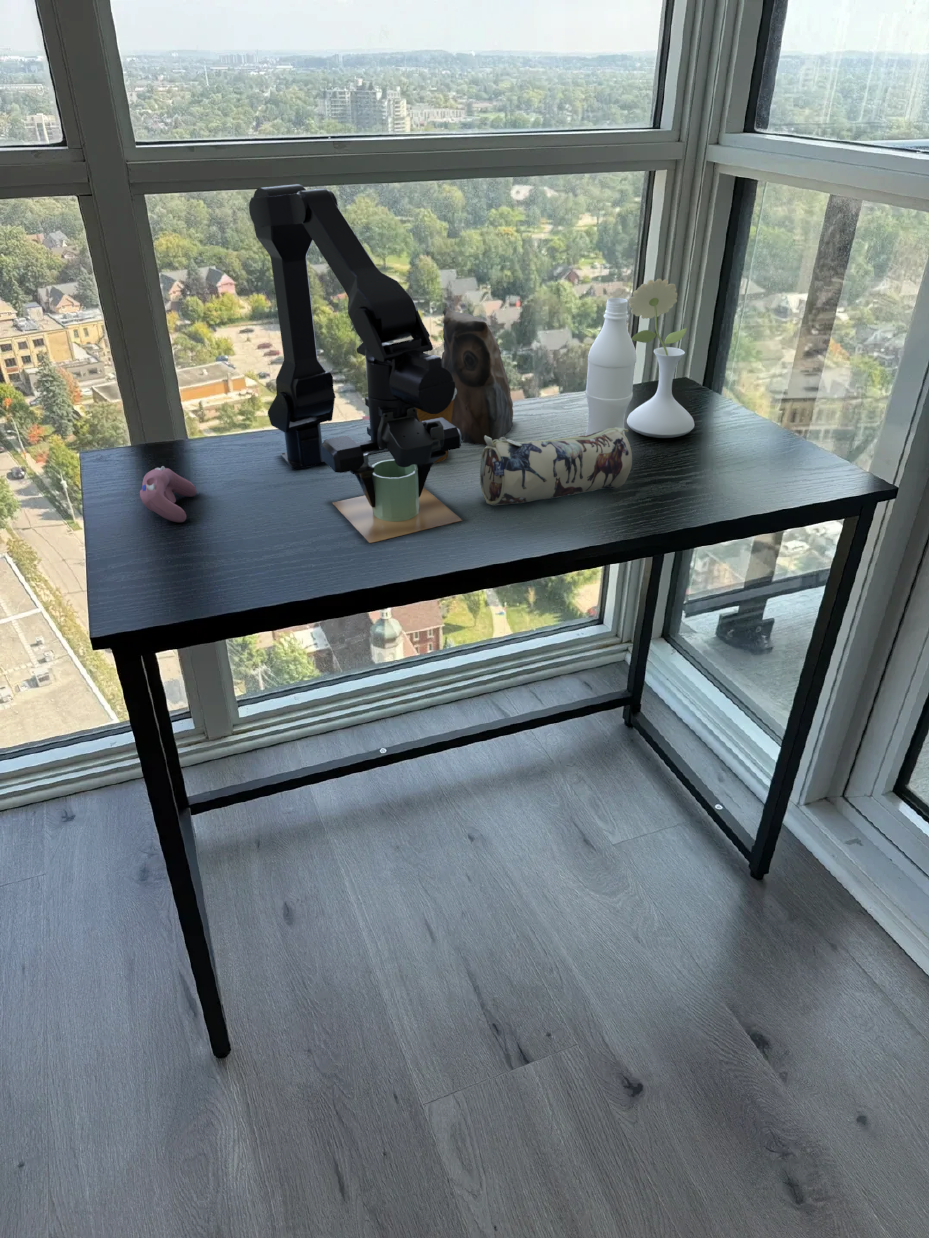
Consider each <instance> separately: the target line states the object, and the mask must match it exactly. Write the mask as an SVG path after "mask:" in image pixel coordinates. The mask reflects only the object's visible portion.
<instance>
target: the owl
mask: <svg viewBox="0 0 929 1238" xmlns="http://www.w3.org/2000/svg"><path fill="white" fill-rule="evenodd" d="M442 314H443V319H442V321H443V322H442V323H443V327H442V338H443V352H442V354H441V364H442V367H443V368H445V369H447V370H448V371H449V372H450V374H451V375H452V377H453V381H454V382H455V388H456V389H457V394H456V395H455V398H454V403H453V411H452V420H451V424H453V425H454V426H456V427H457V428H458V429H459V430H460V433H461V441H462V443H465V444H466V443H467V444H470V445H481V446H485V447H487V446H488V445H487V443H486V441H485V439H484V437H485V435H486V436H487V437H490V438H492V441H493V440H499V439H500V438H501V437H505V436H506V433H509V432H510V431H511V430H512V427H513V425H514V422H513V421H514V420H513V419H514V409H513V407H514V402H513V399H512V396H511V395H512V394H511V388H510V384H509V379H508V375H507V373H506V369H505V366H504V363H503V360H502V356H501V355H502V352H501V349H500V346H499V343H498V341H497V338H496V336H495V335H494V333H493V332H492V330H491V328H490V327H489V326H488V323H487V322H486V321H484V320H483V319H482V318H481V317H478V316H474V315H473V314H471V313H465V312H459V311H456V310H452V309H451V308H450V306H446V307H444V308H443V311H442Z"/></svg>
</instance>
